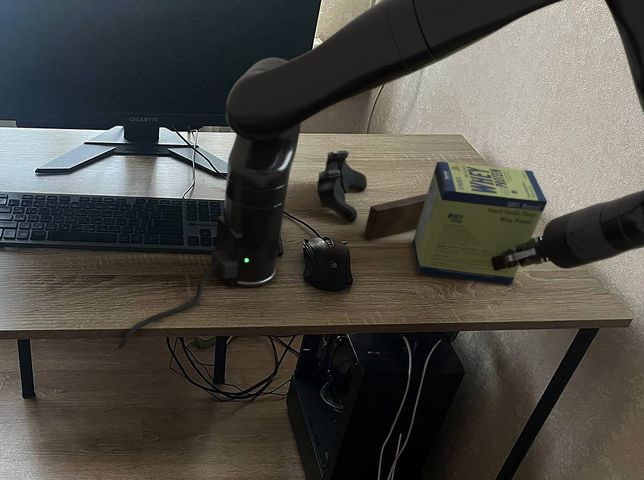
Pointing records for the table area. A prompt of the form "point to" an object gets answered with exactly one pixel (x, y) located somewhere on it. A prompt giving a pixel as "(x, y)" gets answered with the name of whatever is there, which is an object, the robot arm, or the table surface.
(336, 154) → the game controller
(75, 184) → the table surface
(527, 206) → the protein box
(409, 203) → the bar
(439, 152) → the table surface
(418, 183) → the table surface
